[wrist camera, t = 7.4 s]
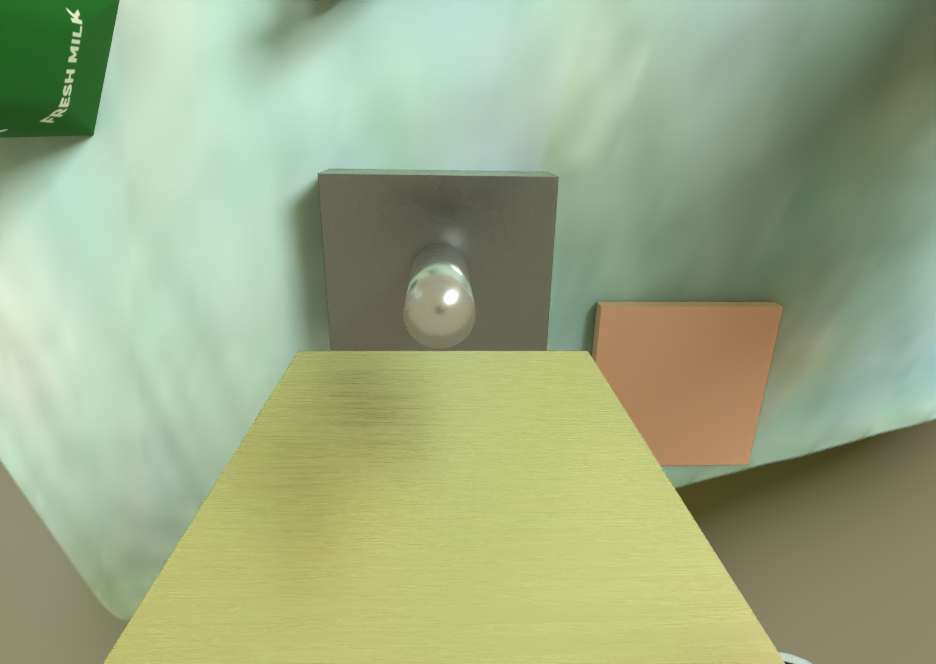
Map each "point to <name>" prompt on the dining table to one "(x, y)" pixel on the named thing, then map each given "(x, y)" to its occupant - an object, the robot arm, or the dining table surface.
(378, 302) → the grey base with post
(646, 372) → the tile
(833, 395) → the dining table surface
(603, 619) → the sleeve
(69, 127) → the milk carton
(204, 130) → the dining table surface
